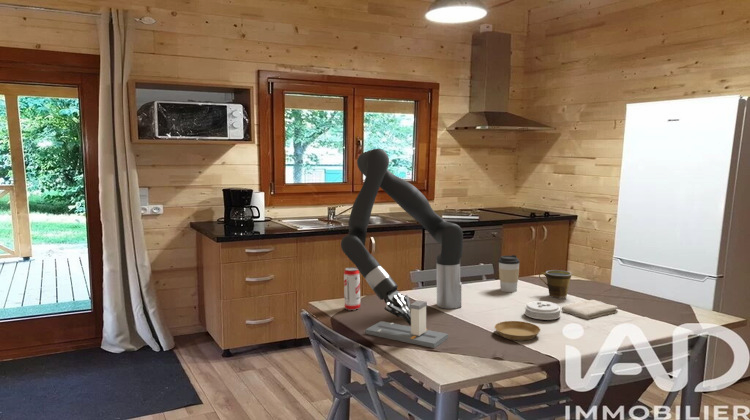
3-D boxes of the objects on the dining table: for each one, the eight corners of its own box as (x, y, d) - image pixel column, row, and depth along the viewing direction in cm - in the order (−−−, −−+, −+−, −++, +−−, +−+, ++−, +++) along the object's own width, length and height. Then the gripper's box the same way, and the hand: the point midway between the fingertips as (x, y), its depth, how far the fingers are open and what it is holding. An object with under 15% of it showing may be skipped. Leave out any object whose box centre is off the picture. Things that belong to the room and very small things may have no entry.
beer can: (361, 306, 210) (360, 267, 208) (359, 311, 204) (358, 270, 202) (345, 306, 211) (344, 266, 209) (343, 310, 204) (342, 270, 202)
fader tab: (410, 334, 172) (409, 304, 171) (418, 329, 176) (417, 300, 175) (419, 336, 170) (419, 306, 169) (427, 331, 175) (426, 301, 173)
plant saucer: (490, 328, 183) (490, 320, 183) (533, 327, 183) (533, 320, 182) (499, 343, 168) (499, 335, 168) (545, 343, 168) (546, 335, 168)
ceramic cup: (573, 295, 220) (573, 271, 219) (567, 301, 212) (568, 276, 210) (541, 291, 227) (542, 268, 226) (535, 296, 218) (535, 273, 217)
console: (365, 333, 179) (365, 328, 179) (381, 325, 187) (381, 319, 187) (434, 348, 165) (434, 342, 165) (448, 338, 173) (447, 332, 173)
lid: (526, 321, 189) (526, 308, 188) (523, 310, 201) (523, 298, 201) (563, 323, 187) (563, 309, 186) (557, 312, 199) (557, 299, 198)
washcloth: (619, 312, 197) (620, 304, 197) (587, 321, 188) (587, 312, 188) (592, 305, 207) (593, 297, 207) (560, 312, 199) (561, 304, 198)
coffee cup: (507, 293, 223) (508, 259, 222) (493, 289, 231) (493, 255, 230) (523, 290, 228) (524, 256, 226) (509, 286, 236) (509, 253, 234)
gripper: (377, 280, 172) (410, 322, 167) (397, 271, 183) (429, 311, 178) (364, 293, 175) (396, 335, 170) (384, 284, 186) (415, 323, 181)
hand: (413, 323), depth 174 cm, fingers closed
